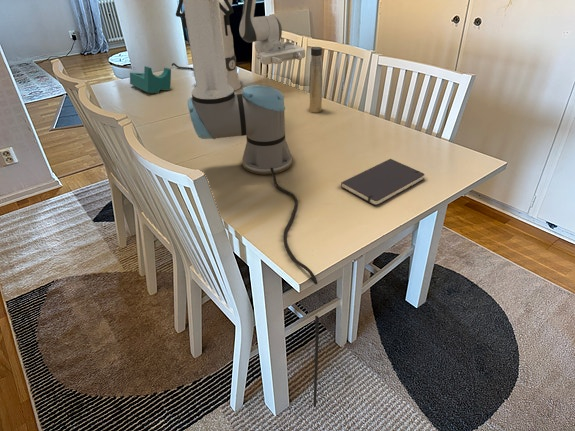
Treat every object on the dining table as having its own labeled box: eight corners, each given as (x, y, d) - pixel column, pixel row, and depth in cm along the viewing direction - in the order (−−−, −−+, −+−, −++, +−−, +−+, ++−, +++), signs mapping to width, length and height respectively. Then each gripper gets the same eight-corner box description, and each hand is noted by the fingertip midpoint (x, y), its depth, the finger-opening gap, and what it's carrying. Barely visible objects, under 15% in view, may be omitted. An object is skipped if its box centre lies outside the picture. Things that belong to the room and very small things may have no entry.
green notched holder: (170, 93, 186) (171, 69, 181) (147, 92, 179) (148, 67, 174) (151, 84, 197) (152, 61, 192) (130, 83, 190) (130, 60, 185)
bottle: (307, 110, 161) (307, 49, 148) (315, 107, 164) (316, 47, 150) (315, 113, 158) (316, 51, 145) (323, 110, 161) (325, 49, 147)
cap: (308, 54, 149) (308, 48, 147) (316, 52, 151) (316, 46, 149) (316, 56, 146) (316, 50, 145) (324, 54, 148) (324, 48, 147)
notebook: (389, 163, 124) (340, 187, 113) (390, 158, 123) (341, 182, 112) (424, 178, 116) (375, 206, 105) (425, 174, 115) (376, 201, 104)
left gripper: (253, 48, 173) (267, 55, 163) (295, 41, 180) (311, 47, 170) (255, 63, 176) (268, 71, 166) (296, 56, 183) (311, 63, 173)
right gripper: (235, -35, 140) (241, 31, 152) (161, -31, 136) (173, 36, 149) (237, -33, 134) (243, 36, 146) (160, -30, 130) (172, 40, 143)
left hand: (290, 59), depth 168 cm, fingers open, 8 cm apart
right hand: (208, 36), depth 147 cm, fingers open, 13 cm apart
